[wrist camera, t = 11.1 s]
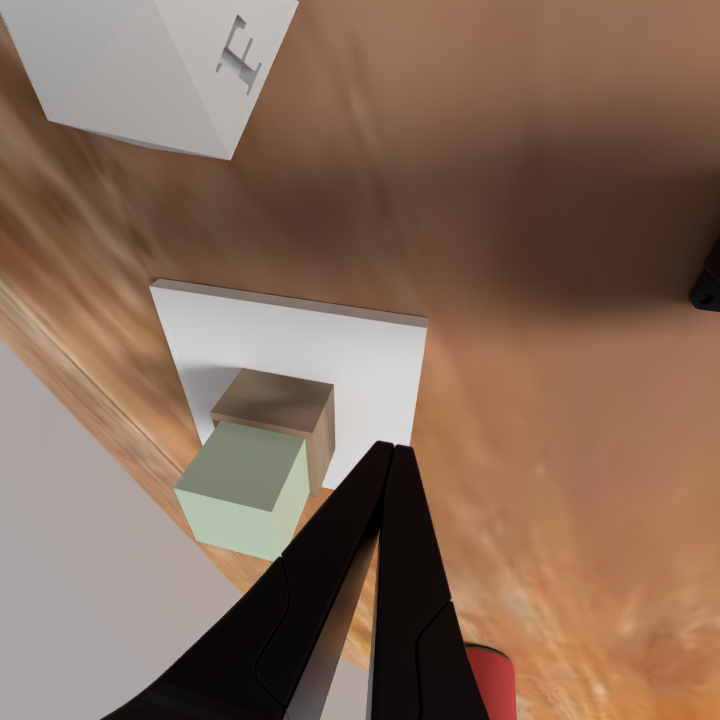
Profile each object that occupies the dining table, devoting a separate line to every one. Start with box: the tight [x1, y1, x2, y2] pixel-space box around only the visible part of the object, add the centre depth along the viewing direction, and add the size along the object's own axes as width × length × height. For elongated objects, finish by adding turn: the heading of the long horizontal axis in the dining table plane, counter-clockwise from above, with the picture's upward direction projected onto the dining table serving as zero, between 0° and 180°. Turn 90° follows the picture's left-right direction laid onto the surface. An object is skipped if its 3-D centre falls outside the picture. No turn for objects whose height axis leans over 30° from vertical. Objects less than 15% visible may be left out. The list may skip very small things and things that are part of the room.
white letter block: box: [0, 0, 299, 160], centre depth 13 cm, size 8×9×10 cm
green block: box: [174, 421, 310, 561], centre depth 22 cm, size 5×5×4 cm
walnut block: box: [210, 368, 335, 498], centre depth 25 cm, size 6×6×4 cm
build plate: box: [149, 279, 429, 490], centre depth 27 cm, size 16×16×1 cm
